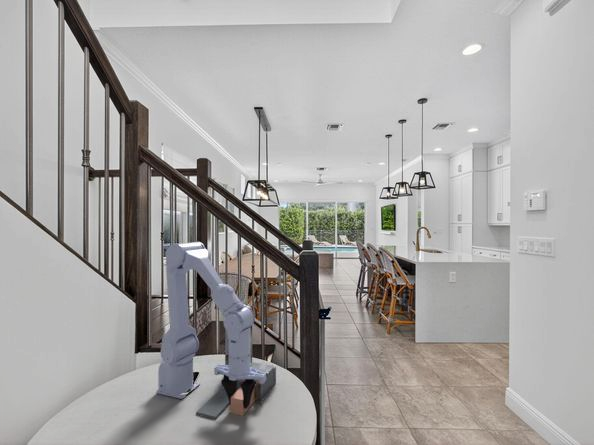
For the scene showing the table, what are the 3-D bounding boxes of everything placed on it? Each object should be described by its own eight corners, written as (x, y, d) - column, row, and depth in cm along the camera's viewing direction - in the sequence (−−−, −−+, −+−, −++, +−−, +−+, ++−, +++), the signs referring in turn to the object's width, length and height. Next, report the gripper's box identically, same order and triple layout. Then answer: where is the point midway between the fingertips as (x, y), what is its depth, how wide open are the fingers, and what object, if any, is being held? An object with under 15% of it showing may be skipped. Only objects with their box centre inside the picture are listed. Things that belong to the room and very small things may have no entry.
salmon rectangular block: (230, 412, 79) (230, 397, 79) (250, 390, 89) (250, 376, 89) (242, 415, 78) (242, 400, 78) (260, 392, 88) (260, 378, 88)
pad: (196, 414, 78) (196, 412, 78) (221, 389, 89) (221, 387, 89) (215, 419, 76) (215, 416, 76) (239, 393, 87) (239, 391, 87)
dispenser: (236, 397, 86) (236, 375, 85) (253, 377, 96) (253, 358, 96) (260, 402, 83) (260, 380, 83) (276, 382, 94) (276, 362, 93)
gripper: (207, 356, 78) (207, 408, 78) (257, 364, 74) (257, 420, 74) (222, 345, 85) (222, 393, 85) (269, 352, 80) (269, 403, 80)
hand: (239, 404), depth 80 cm, fingers closed on salmon rectangular block, 3 cm apart
